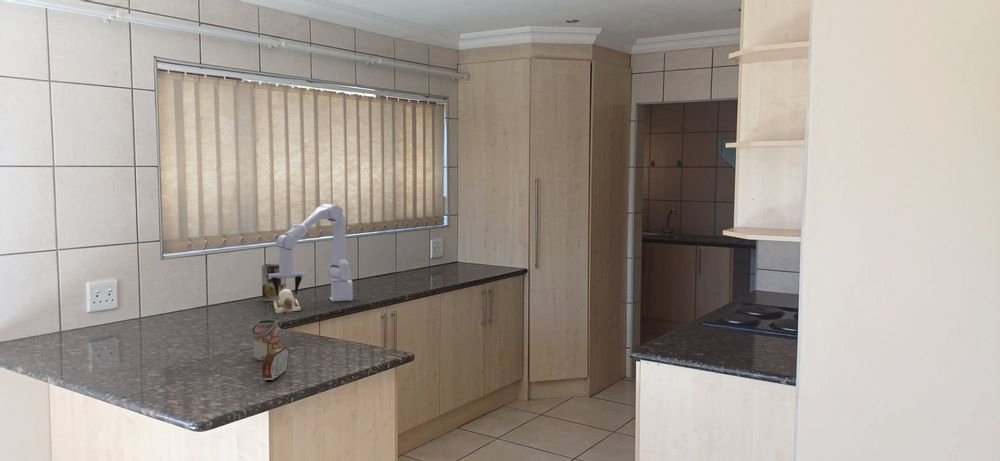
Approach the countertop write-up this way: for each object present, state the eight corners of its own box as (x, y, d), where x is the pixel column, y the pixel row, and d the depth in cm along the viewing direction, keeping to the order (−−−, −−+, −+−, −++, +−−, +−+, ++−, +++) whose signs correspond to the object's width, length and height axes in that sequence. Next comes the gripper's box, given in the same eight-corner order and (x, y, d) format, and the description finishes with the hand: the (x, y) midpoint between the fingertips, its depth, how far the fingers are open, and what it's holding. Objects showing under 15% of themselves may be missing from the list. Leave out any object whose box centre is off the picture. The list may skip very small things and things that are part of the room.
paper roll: (292, 301, 321) (292, 288, 320) (294, 306, 309) (294, 293, 308) (278, 301, 319) (278, 289, 318) (280, 307, 307) (280, 294, 306)
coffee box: (286, 298, 333) (286, 263, 331) (281, 301, 327) (280, 265, 325) (267, 298, 334) (267, 263, 332) (261, 300, 328) (261, 265, 326)
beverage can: (263, 364, 229) (262, 326, 228) (245, 359, 233) (244, 322, 232) (286, 357, 237) (285, 321, 236) (268, 353, 241) (268, 317, 240)
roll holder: (296, 302, 325) (296, 292, 325) (300, 311, 306) (300, 301, 306) (273, 303, 322) (273, 293, 321) (275, 313, 303) (275, 302, 302)
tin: (280, 369, 224) (280, 342, 223) (290, 369, 224) (290, 342, 223) (261, 384, 209) (260, 355, 208) (271, 384, 209) (271, 356, 208)
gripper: (268, 265, 306) (269, 297, 307) (304, 263, 311) (305, 295, 312) (268, 262, 312) (268, 294, 314) (303, 261, 317) (303, 292, 319)
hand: (286, 294), depth 313 cm, fingers open, 7 cm apart
